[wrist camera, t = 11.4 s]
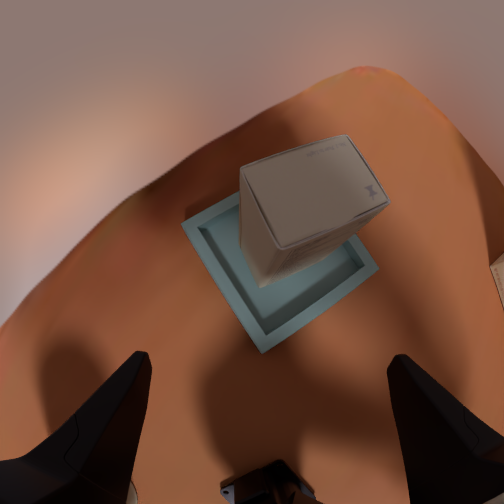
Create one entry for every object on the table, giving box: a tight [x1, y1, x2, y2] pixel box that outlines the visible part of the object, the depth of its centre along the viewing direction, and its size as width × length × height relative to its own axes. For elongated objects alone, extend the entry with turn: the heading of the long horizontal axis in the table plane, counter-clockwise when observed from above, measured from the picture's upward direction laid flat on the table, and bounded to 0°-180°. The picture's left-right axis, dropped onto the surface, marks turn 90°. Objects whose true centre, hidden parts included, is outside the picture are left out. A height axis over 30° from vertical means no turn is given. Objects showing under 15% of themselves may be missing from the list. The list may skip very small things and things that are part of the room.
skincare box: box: [239, 134, 391, 288], centre depth 18 cm, size 6×4×12 cm
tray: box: [181, 191, 379, 354], centre depth 23 cm, size 12×12×2 cm
